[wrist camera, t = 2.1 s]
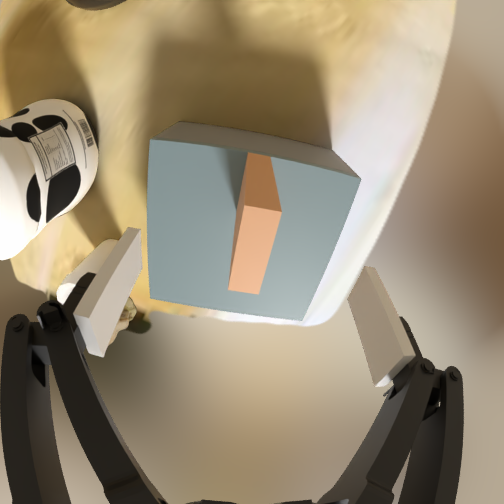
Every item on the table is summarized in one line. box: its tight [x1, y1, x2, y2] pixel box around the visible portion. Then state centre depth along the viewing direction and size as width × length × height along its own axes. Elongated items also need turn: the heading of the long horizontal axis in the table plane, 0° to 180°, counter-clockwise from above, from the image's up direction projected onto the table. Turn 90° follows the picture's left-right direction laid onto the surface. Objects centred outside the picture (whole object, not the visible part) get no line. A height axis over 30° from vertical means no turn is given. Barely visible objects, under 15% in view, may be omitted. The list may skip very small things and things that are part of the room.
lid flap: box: [147, 137, 361, 321], centre depth 25 cm, size 20×20×12 cm
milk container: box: [0, 99, 99, 260], centre depth 25 cm, size 17×17×18 cm
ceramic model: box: [108, 297, 136, 345], centre depth 47 cm, size 14×11×10 cm
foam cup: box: [56, 239, 118, 305], centre depth 38 cm, size 10×9×13 cm
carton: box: [155, 121, 357, 175], centre depth 34 cm, size 20×20×10 cm
